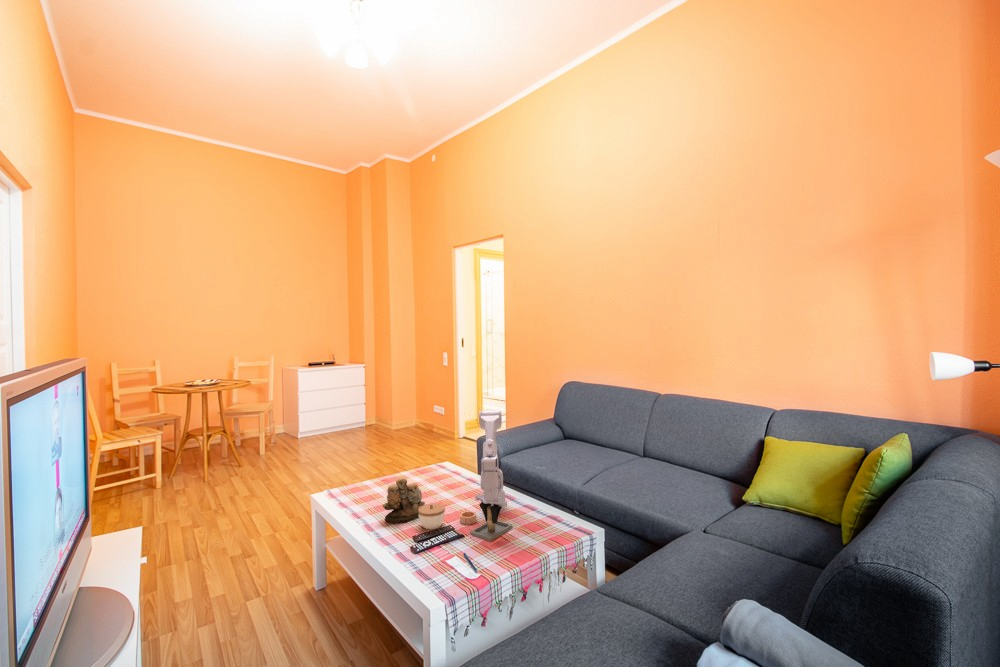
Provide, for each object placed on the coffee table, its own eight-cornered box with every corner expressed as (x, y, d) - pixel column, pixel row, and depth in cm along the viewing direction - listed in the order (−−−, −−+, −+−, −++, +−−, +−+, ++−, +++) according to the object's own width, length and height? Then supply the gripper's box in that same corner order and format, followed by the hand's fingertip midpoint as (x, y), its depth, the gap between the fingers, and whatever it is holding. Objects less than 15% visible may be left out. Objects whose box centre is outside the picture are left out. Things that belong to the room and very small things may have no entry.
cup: (467, 517, 198) (467, 509, 198) (479, 521, 194) (479, 513, 194) (456, 522, 193) (456, 515, 193) (468, 526, 189) (468, 519, 189)
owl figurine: (386, 527, 190) (385, 486, 190) (379, 517, 201) (378, 478, 200) (428, 517, 199) (427, 477, 199) (419, 508, 209) (418, 470, 209)
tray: (492, 523, 192) (492, 518, 192) (512, 529, 186) (512, 524, 186) (470, 535, 181) (470, 531, 181) (490, 542, 175) (490, 538, 175)
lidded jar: (420, 534, 183) (419, 511, 183) (417, 523, 193) (416, 501, 193) (447, 531, 186) (446, 507, 185) (443, 520, 196) (442, 498, 196)
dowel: (490, 527, 185) (490, 505, 185) (496, 529, 184) (496, 506, 183) (486, 530, 183) (485, 507, 183) (492, 532, 181) (491, 509, 181)
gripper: (469, 486, 184) (470, 520, 184) (498, 494, 175) (499, 530, 176) (481, 481, 190) (482, 514, 190) (510, 488, 181) (510, 523, 181)
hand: (491, 521), depth 183 cm, fingers closed on dowel, 3 cm apart
